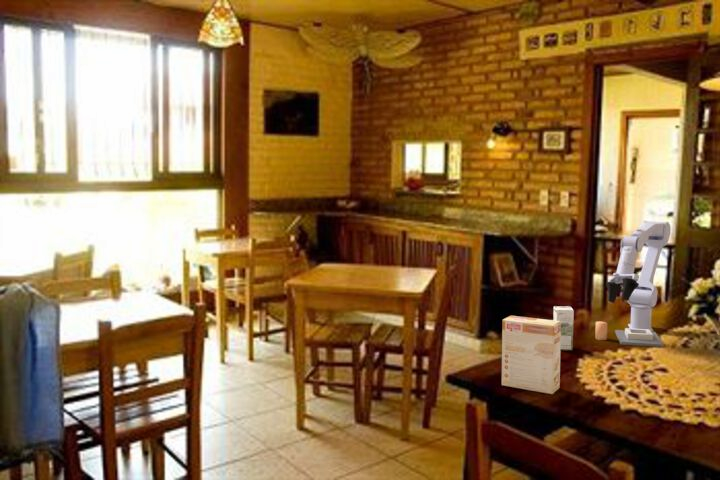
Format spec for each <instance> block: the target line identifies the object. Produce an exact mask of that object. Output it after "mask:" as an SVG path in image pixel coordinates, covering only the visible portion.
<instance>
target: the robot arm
mask: <svg viewBox="0 0 720 480" xmlns="http://www.w3.org/2000/svg"><path fill="white" fill-rule="evenodd" d="M671 229H672V228H671V223H670V222H669V221H652V220H651V221H649V220H643V222H642V223H641V224H640V228H637V229H636V230H634V231H633V232H632V233H631V234H630V235H625V236H624V237H622V238H621V239H620V250H619V251H620V252H619V253H620V255H619V260H618V263H617V268H616V272H613V274H612V277H610V278H609V279H608V281H607V282H605V285H606V289H607V296H608V297H607V298H608V299H607V300H608V302H610V303H612V304H615V302H616V300H617V297H618V294H619V292H620V291H621V289H622V294H621V298H622V300H624V301H626V302H627V303H628V304H629V306H630V307H631V308H630V323H628V324H627V326H628V328H633V329H649V330H650V331H651V332H654V329H653V327H652V310H653V309H652V308H653V307H655V306H656V305H657V301H658V288H657V287H656V286H655V284H653V283H654V278H655V274H656V271H657V268H658V263H659V259H660V256H661V253H662V249H663V247H665V246H667V245H668V242H669V240H670V236H671ZM644 246H647V251H646V254H645V258H644V262H643V265H642V268H641V271H640V275H638V274H637V273H634V272H635V269H636V264H637V260H638V256H639V253H641V252H642V251H643V248H644ZM619 284H622V286H621V285H619Z"/></svg>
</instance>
